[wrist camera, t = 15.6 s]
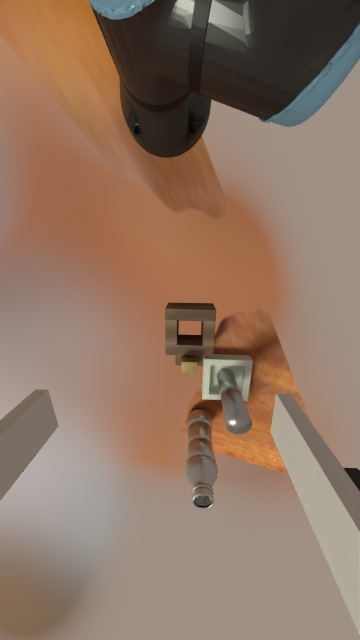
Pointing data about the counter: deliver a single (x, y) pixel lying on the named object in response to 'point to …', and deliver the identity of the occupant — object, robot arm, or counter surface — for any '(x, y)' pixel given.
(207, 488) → the plastic bottle
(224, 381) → the grey metal peg
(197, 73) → the robot arm
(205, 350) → the socket block
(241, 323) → the counter surface
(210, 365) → the tray
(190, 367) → the brass block
